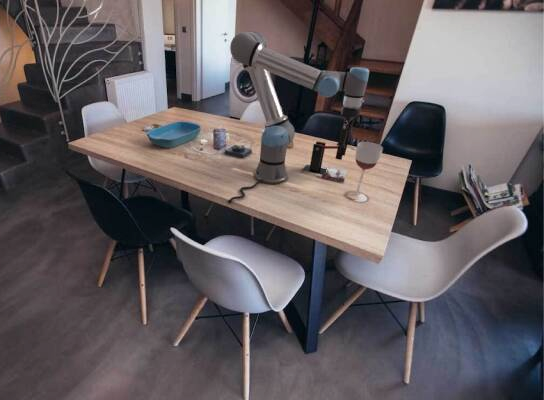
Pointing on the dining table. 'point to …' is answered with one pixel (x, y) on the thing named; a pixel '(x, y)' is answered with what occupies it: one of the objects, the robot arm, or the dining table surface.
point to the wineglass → (366, 161)
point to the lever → (330, 147)
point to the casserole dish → (174, 134)
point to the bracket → (316, 160)
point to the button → (238, 145)
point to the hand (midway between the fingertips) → (340, 156)
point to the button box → (238, 151)
